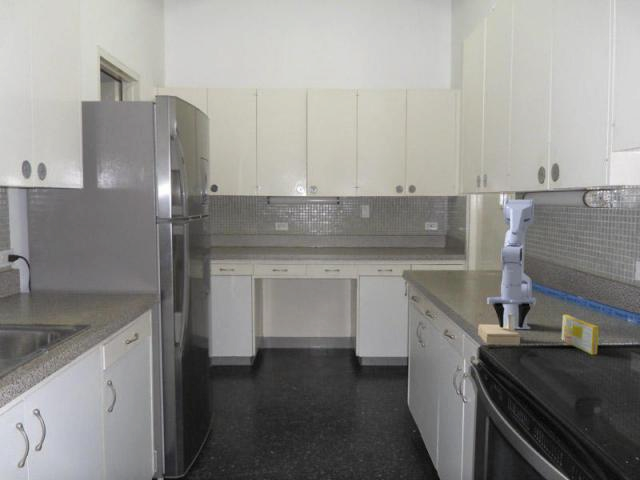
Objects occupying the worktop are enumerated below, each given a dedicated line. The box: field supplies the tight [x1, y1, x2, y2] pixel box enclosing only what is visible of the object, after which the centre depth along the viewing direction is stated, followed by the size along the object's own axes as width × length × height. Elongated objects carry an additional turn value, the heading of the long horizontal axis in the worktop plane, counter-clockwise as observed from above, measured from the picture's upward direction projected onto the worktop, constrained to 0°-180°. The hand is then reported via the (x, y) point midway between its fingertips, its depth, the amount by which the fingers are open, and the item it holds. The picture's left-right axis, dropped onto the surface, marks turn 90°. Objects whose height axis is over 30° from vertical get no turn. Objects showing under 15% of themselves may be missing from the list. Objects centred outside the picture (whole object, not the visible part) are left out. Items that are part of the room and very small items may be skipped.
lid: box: [478, 313, 520, 336], centre depth 173 cm, size 12×10×5 cm
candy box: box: [561, 314, 600, 356], centre depth 165 cm, size 16×2×8 cm, turn 6°
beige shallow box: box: [477, 326, 521, 346], centre depth 173 cm, size 12×10×3 cm
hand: (510, 326), depth 173 cm, fingers open, 5 cm apart
